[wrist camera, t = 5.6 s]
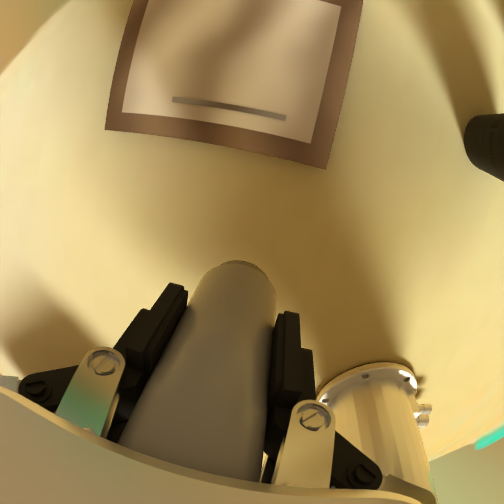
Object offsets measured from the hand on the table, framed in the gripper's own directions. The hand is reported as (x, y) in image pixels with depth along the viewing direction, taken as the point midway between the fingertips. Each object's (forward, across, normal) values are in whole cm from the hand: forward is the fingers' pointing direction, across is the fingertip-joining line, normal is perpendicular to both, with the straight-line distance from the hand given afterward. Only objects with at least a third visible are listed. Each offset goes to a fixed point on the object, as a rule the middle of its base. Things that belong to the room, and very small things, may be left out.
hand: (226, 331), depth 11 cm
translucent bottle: (+3, 0, 0) cm, 3 cm away
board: (+13, +5, -13) cm, 19 cm away
